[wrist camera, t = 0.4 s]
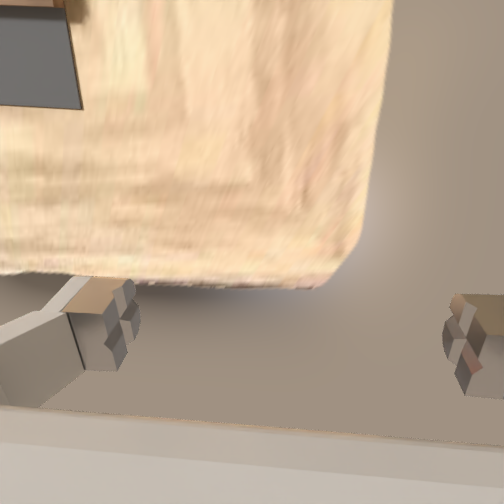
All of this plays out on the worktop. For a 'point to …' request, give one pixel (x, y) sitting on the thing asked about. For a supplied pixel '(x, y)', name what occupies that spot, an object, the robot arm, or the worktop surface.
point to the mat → (36, 58)
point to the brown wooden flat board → (33, 3)
